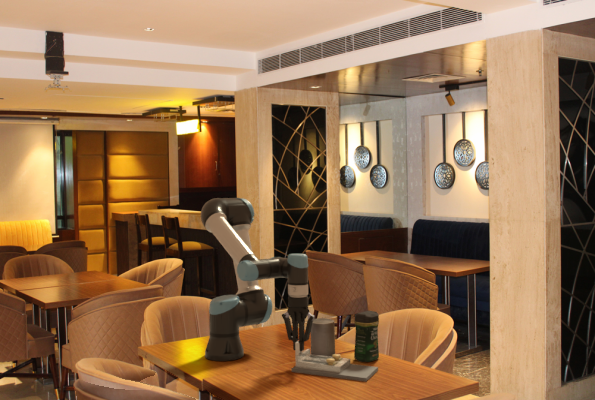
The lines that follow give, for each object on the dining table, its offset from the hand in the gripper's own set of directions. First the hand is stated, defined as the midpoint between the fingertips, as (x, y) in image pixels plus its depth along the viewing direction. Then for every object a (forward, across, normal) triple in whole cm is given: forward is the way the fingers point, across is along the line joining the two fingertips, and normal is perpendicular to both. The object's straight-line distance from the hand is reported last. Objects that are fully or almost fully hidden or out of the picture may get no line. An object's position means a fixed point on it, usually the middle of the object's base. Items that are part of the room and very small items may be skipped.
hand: (298, 359), depth 213 cm
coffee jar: (+3, +20, +19) cm, 28 cm away
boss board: (+3, +14, 0) cm, 14 cm away
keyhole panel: (+1, +10, 0) cm, 10 cm away
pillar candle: (+3, +2, +18) cm, 19 cm away
